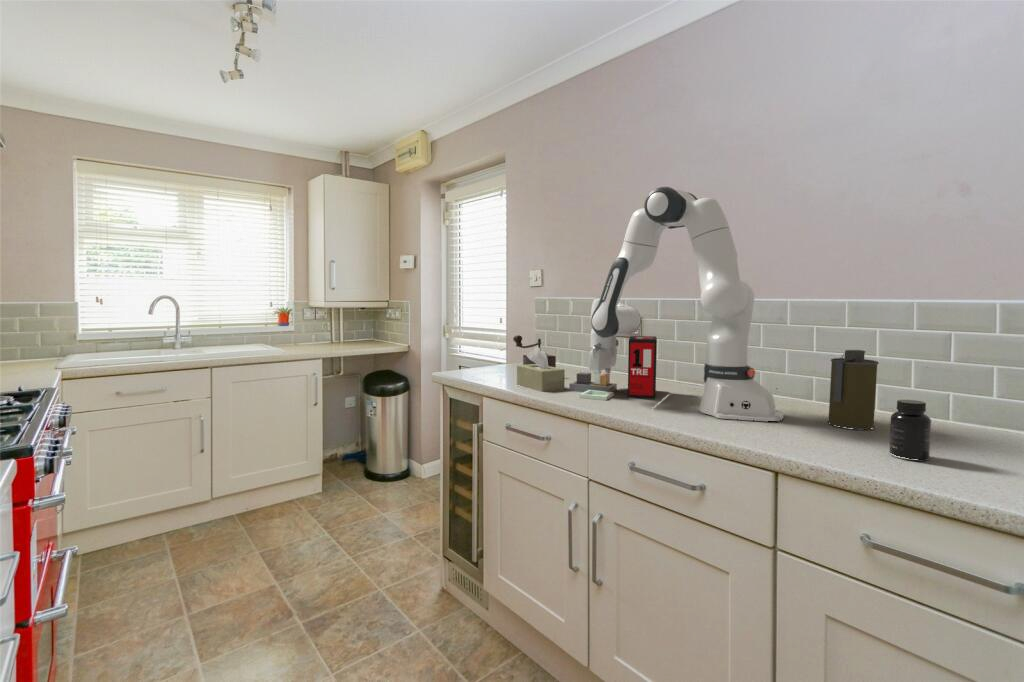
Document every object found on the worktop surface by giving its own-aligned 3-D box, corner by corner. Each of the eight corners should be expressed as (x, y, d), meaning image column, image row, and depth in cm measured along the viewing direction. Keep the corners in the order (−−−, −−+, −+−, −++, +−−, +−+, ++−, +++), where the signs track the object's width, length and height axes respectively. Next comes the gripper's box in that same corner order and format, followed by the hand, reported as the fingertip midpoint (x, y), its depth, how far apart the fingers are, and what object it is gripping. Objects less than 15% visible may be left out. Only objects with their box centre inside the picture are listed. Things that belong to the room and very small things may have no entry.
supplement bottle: (911, 451, 113) (914, 398, 112) (937, 461, 106) (941, 404, 105) (880, 452, 112) (884, 398, 111) (905, 462, 106) (909, 404, 105)
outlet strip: (616, 392, 184) (616, 383, 183) (609, 395, 177) (610, 387, 176) (577, 388, 191) (577, 380, 190) (569, 392, 184) (569, 383, 183)
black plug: (590, 389, 186) (591, 373, 185) (587, 391, 182) (587, 374, 182) (580, 388, 188) (580, 372, 187) (576, 390, 184) (576, 373, 184)
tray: (613, 397, 174) (614, 392, 174) (605, 402, 166) (605, 396, 166) (588, 394, 178) (588, 389, 178) (579, 399, 170) (579, 394, 170)
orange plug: (609, 391, 183) (609, 374, 182) (606, 392, 179) (606, 375, 179) (598, 390, 185) (598, 373, 184) (595, 391, 181) (595, 375, 181)
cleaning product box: (629, 390, 187) (630, 335, 185) (654, 391, 184) (656, 336, 182) (627, 399, 171) (628, 339, 169) (655, 400, 168) (656, 340, 167)
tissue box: (516, 385, 198) (516, 345, 196) (537, 383, 202) (537, 343, 201) (542, 393, 181) (542, 349, 180) (565, 391, 186) (565, 348, 185)
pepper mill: (541, 374, 225) (541, 333, 224) (556, 377, 216) (556, 335, 214) (511, 377, 217) (511, 335, 216) (525, 381, 208) (525, 336, 206)
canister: (845, 419, 143) (849, 347, 141) (884, 428, 133) (888, 351, 131) (817, 422, 139) (821, 349, 137) (855, 432, 129) (859, 353, 127)
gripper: (602, 345, 170) (602, 386, 171) (620, 340, 188) (619, 378, 189) (584, 344, 173) (584, 385, 174) (603, 340, 191) (602, 376, 192)
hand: (602, 381), depth 182 cm, fingers open, 8 cm apart
